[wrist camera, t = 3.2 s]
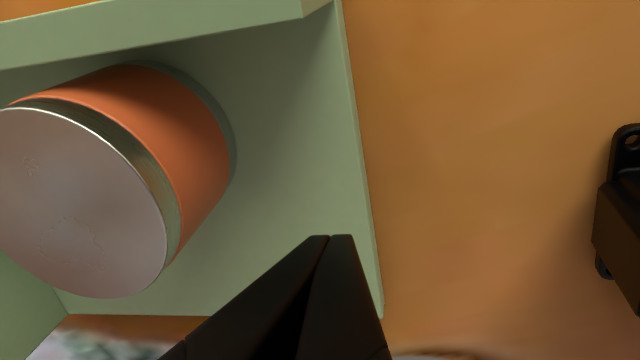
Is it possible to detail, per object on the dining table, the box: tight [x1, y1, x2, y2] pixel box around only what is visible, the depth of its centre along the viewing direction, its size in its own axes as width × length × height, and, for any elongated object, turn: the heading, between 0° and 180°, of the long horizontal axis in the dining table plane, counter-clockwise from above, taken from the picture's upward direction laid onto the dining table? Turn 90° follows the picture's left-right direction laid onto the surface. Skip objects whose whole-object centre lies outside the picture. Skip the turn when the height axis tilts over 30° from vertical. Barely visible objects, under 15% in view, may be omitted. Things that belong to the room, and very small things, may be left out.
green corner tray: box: [0, 0, 385, 360], centre depth 17 cm, size 19×15×6 cm
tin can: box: [0, 60, 237, 300], centre depth 15 cm, size 7×7×6 cm
